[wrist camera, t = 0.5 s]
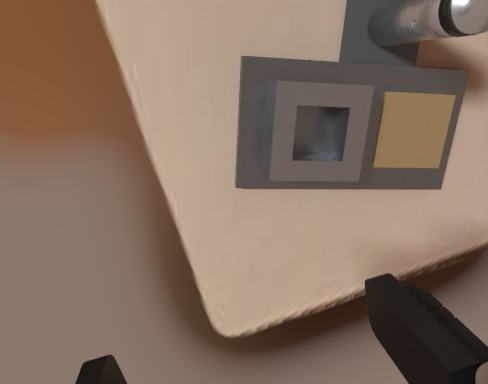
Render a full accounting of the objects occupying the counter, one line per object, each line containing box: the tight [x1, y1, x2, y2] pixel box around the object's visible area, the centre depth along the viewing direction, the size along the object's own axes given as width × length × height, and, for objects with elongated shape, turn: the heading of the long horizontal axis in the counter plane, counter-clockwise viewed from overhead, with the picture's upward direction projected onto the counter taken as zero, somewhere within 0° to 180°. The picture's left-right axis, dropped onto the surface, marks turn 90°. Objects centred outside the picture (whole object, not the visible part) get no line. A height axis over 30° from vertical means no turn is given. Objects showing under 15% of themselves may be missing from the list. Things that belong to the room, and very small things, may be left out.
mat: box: [339, 0, 419, 67], centre depth 34 cm, size 8×8×1 cm
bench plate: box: [235, 56, 469, 189], centre depth 35 cm, size 13×24×5 cm, turn 87°
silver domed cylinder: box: [368, 0, 488, 47], centre depth 28 cm, size 4×4×12 cm
